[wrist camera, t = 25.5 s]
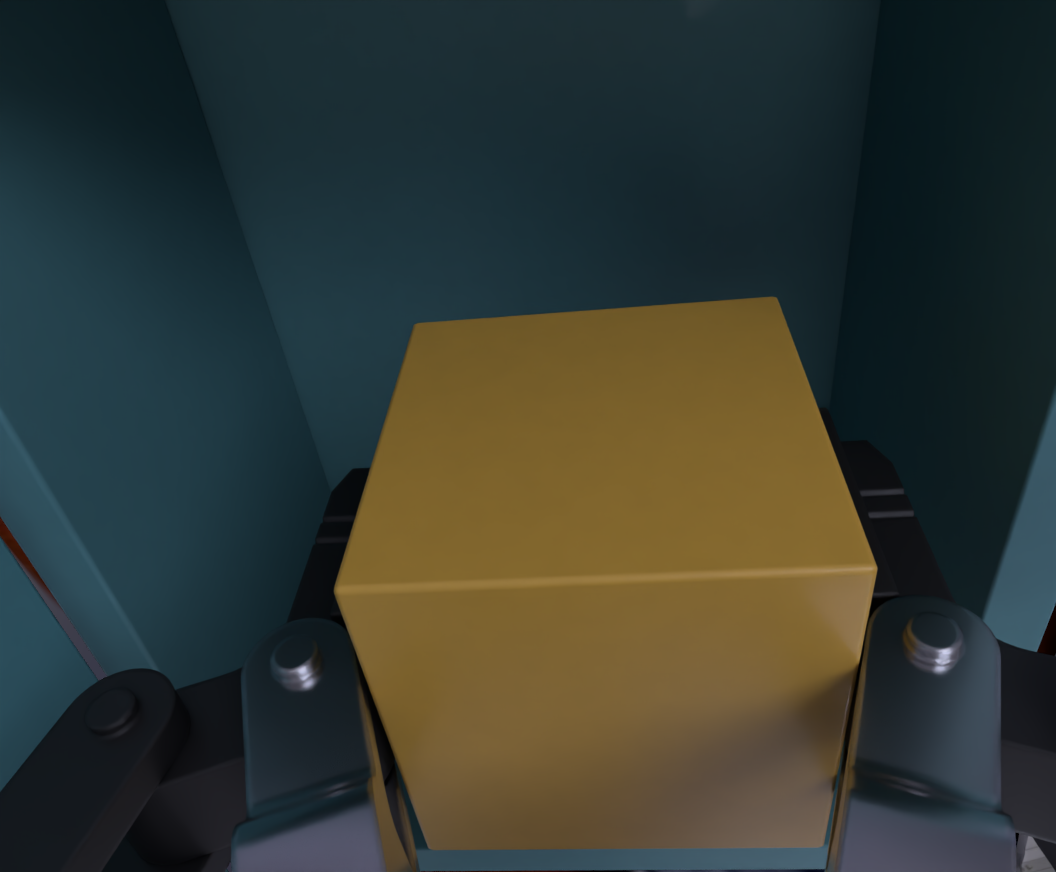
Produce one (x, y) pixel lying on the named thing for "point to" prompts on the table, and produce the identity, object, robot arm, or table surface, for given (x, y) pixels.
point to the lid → (32, 667)
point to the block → (610, 582)
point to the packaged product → (1030, 856)
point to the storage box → (499, 270)
